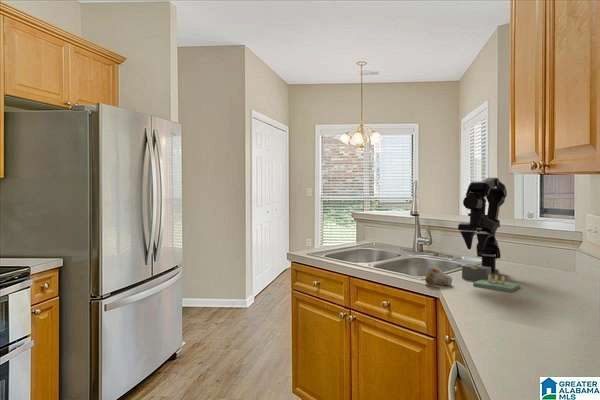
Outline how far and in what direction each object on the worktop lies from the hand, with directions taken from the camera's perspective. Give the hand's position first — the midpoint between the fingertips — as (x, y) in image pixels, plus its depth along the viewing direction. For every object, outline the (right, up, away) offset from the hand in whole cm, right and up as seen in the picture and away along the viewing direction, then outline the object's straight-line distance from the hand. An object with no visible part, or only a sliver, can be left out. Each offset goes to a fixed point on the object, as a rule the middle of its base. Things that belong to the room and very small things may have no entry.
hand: (475, 249), depth 187 cm
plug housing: (+1, -12, +1) cm, 12 cm away
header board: (+3, -13, -12) cm, 18 cm away
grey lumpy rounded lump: (-17, -13, -7) cm, 23 cm away
